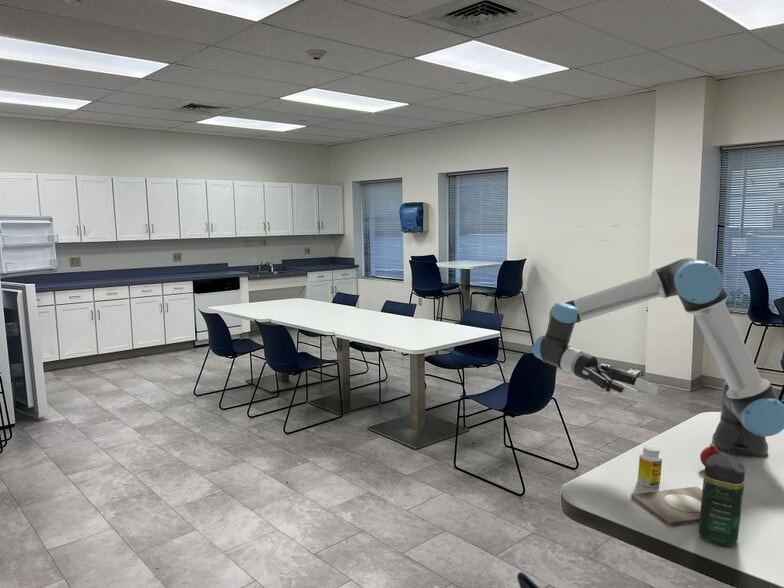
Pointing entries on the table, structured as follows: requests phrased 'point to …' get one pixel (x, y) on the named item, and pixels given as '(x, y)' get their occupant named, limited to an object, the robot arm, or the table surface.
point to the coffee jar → (721, 499)
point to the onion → (708, 453)
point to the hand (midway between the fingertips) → (646, 393)
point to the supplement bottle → (650, 466)
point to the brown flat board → (673, 505)
